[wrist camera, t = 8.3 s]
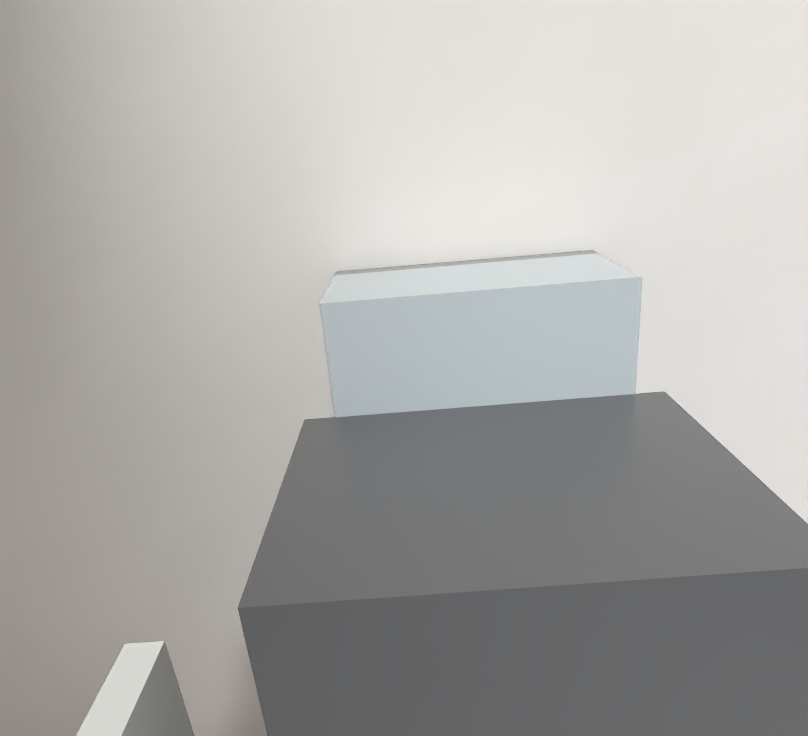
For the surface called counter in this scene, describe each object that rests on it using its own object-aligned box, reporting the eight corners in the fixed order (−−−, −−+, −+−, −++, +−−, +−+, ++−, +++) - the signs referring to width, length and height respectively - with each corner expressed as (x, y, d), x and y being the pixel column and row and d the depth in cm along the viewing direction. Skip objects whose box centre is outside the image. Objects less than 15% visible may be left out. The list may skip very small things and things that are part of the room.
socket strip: (336, 271, 16) (315, 310, 12) (592, 250, 16) (653, 282, 12) (411, 868, 25) (412, 998, 21) (573, 859, 25) (605, 988, 21)
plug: (316, 387, 16) (237, 607, 8) (632, 362, 15) (852, 565, 8) (352, 634, 19) (320, 962, 11) (617, 617, 18) (765, 938, 11)
